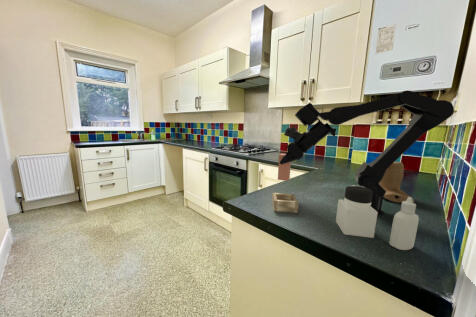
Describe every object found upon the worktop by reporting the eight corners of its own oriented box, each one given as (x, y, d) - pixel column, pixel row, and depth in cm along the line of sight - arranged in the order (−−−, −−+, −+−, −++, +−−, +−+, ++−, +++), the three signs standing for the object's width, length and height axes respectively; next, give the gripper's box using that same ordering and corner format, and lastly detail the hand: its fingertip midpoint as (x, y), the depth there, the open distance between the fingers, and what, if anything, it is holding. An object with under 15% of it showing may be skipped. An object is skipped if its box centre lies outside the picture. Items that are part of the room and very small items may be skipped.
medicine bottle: (374, 238, 48) (381, 193, 46) (343, 234, 49) (349, 190, 47) (362, 224, 54) (367, 184, 53) (335, 221, 56) (340, 182, 54)
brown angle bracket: (368, 189, 88) (373, 157, 85) (401, 194, 83) (407, 160, 80) (374, 200, 74) (380, 162, 72) (414, 206, 69) (421, 166, 67)
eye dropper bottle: (382, 238, 48) (390, 193, 46) (408, 241, 47) (417, 195, 45) (393, 249, 43) (402, 199, 41) (421, 253, 42) (432, 202, 40)
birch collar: (293, 203, 69) (294, 194, 68) (297, 212, 61) (298, 202, 60) (272, 202, 69) (272, 192, 69) (273, 210, 62) (274, 200, 61)
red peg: (289, 178, 77) (291, 154, 75) (288, 181, 73) (289, 155, 72) (279, 177, 78) (281, 153, 77) (277, 179, 75) (279, 154, 73)
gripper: (301, 120, 79) (273, 145, 85) (295, 118, 62) (261, 149, 68) (319, 140, 77) (290, 164, 83) (319, 143, 60) (281, 173, 66)
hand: (281, 162), depth 75 cm, fingers closed on red peg, 4 cm apart
